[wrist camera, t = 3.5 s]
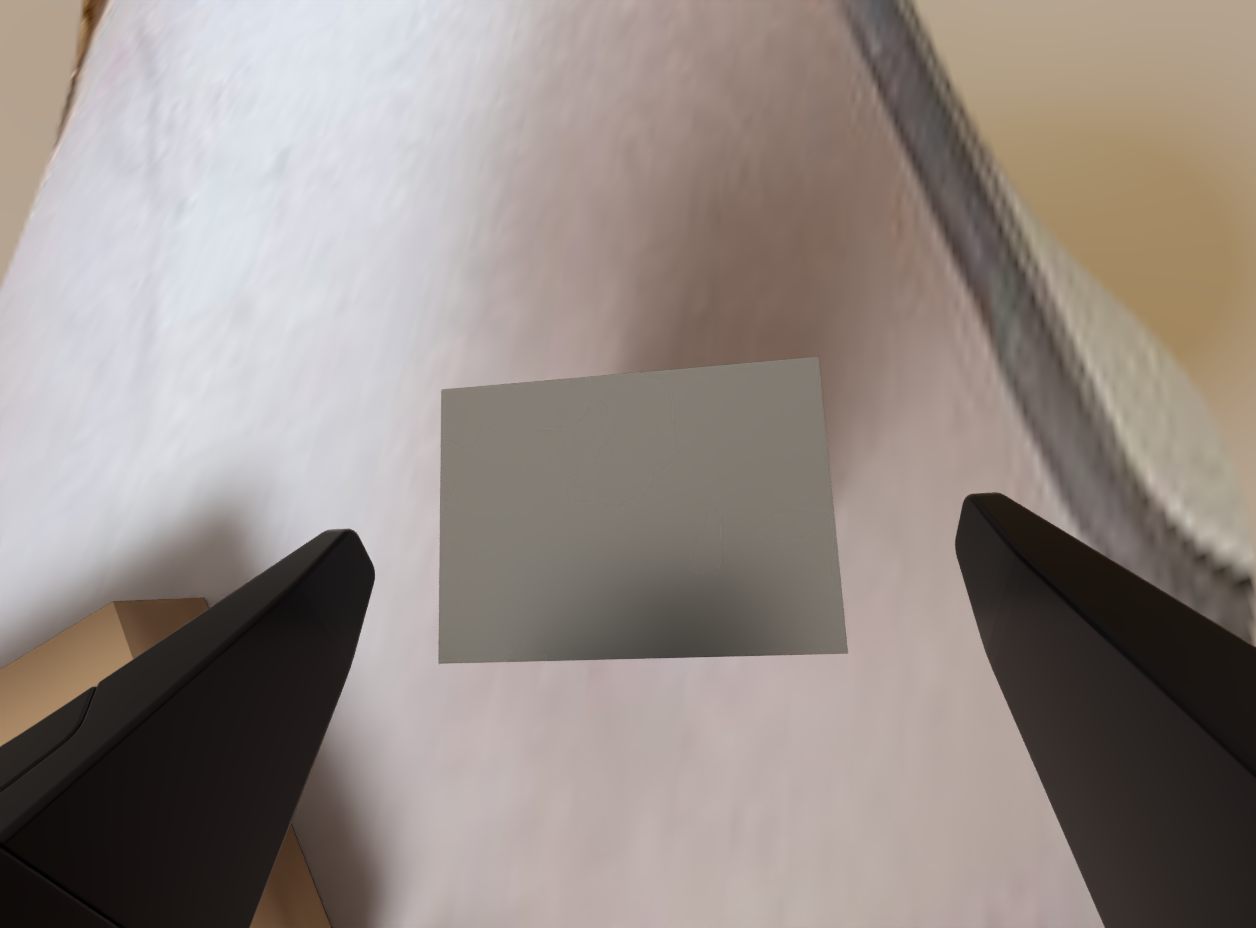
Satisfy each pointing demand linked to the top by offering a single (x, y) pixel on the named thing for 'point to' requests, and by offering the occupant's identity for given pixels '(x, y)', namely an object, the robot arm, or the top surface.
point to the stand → (93, 651)
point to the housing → (639, 517)
